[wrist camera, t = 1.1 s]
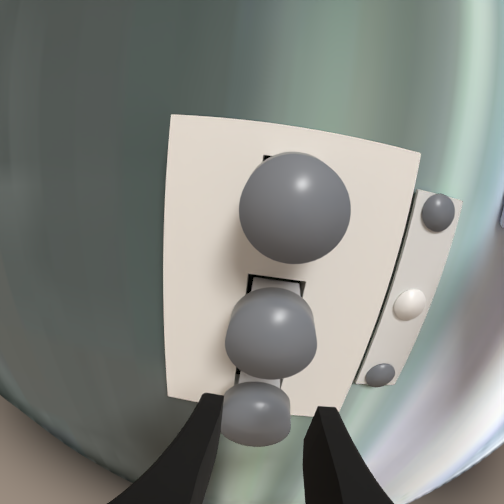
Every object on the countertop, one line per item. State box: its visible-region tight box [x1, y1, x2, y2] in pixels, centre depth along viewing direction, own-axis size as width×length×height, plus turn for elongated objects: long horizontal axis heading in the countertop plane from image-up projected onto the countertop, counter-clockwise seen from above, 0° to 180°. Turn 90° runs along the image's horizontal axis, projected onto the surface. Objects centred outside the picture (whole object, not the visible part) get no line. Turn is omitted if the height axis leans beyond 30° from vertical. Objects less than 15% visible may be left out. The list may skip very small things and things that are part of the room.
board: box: [163, 115, 421, 417], centre depth 18 cm, size 12×18×2 cm, turn 173°
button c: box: [221, 371, 291, 447], centre depth 18 cm, size 4×4×4 cm
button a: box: [239, 152, 351, 264], centre depth 13 cm, size 4×4×4 cm
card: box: [355, 189, 463, 387], centre depth 19 cm, size 3×14×1 cm, turn 173°
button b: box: [225, 277, 317, 380], centre depth 16 cm, size 4×4×4 cm
